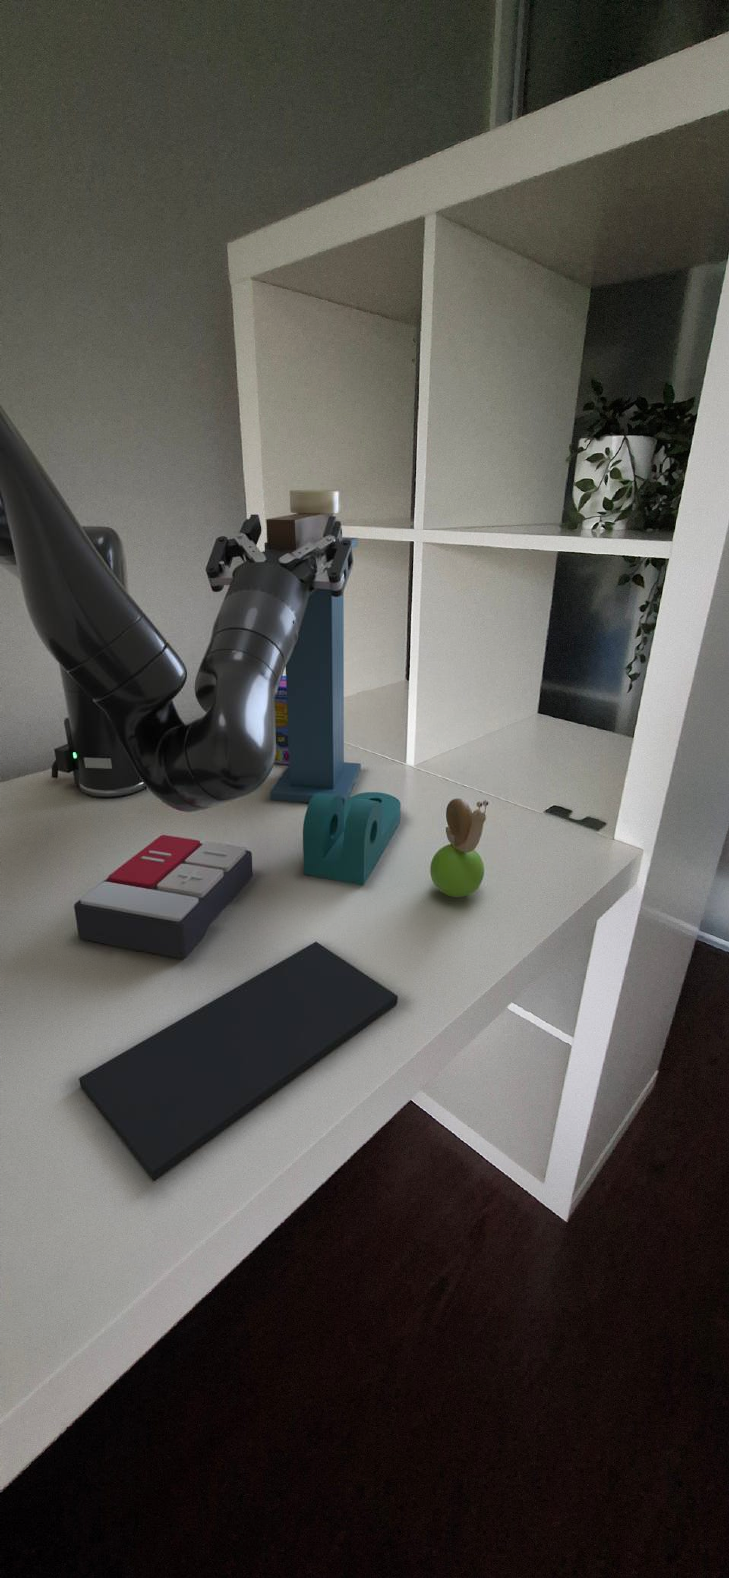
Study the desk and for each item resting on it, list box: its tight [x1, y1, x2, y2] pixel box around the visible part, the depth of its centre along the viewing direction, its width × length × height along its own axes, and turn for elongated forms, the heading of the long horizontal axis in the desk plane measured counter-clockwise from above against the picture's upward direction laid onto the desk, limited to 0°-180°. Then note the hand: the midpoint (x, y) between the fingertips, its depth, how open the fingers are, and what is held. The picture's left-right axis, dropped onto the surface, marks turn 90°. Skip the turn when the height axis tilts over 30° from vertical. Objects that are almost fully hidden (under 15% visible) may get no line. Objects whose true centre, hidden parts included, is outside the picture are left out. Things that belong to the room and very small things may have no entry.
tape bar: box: [265, 489, 342, 551], centre depth 77 cm, size 18×6×5 cm, turn 170°
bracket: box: [302, 791, 402, 886], centre depth 79 cm, size 18×7×8 cm, turn 163°
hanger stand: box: [264, 537, 362, 805], centre depth 89 cm, size 12×10×32 cm
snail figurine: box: [429, 798, 489, 898], centre depth 68 cm, size 5×6×12 cm
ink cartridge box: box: [274, 675, 289, 766], centre depth 101 cm, size 10×6×14 cm, turn 79°
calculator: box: [73, 834, 254, 959], centre depth 68 cm, size 11×4×15 cm
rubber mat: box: [78, 941, 399, 1181], centre depth 52 cm, size 22×10×1 cm, turn 135°
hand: (295, 522), depth 74 cm, fingers open, 8 cm apart
